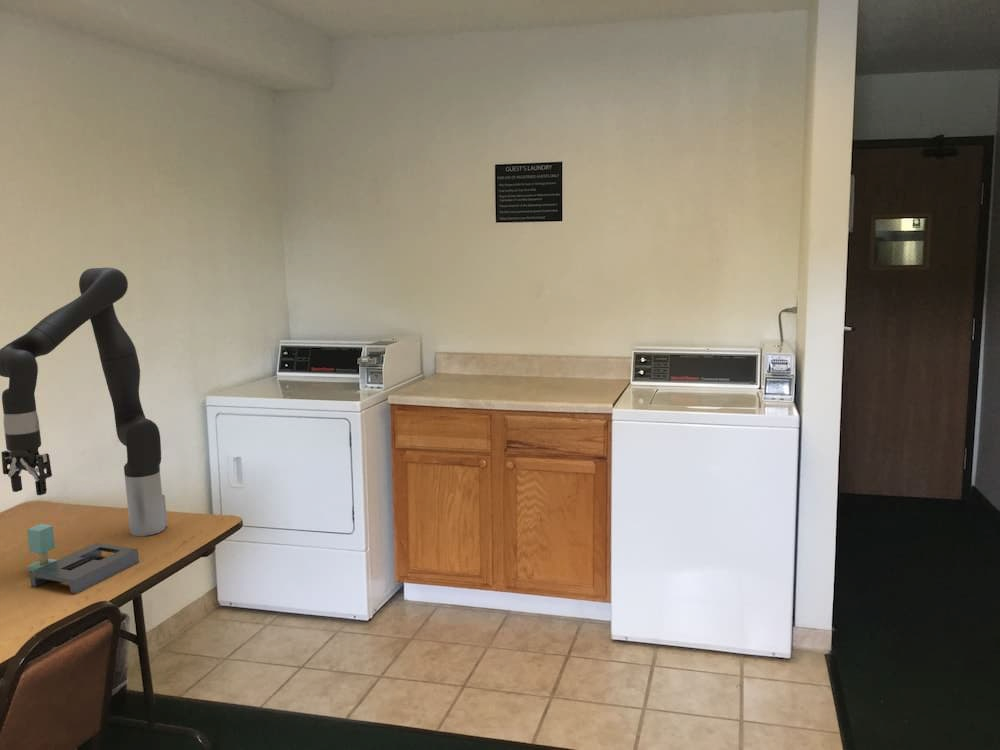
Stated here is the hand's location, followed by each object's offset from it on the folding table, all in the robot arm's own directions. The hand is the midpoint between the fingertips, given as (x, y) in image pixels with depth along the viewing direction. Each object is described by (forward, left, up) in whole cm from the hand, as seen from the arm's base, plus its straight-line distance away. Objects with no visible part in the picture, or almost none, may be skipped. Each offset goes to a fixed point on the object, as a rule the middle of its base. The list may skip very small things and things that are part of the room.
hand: (29, 492), depth 205 cm
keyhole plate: (-2, +14, -20) cm, 25 cm away
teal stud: (-1, +1, -20) cm, 20 cm away
